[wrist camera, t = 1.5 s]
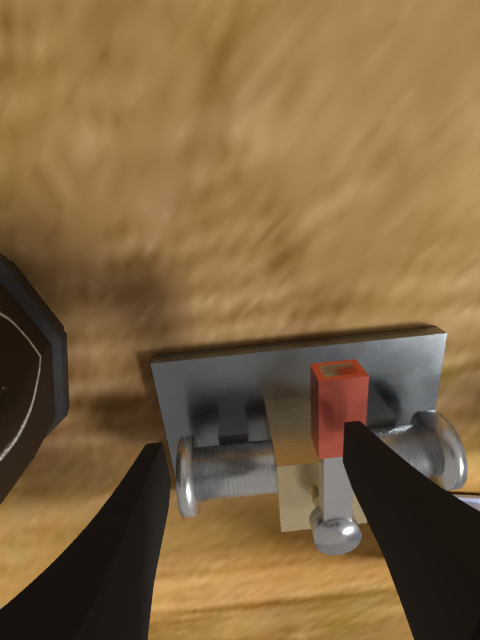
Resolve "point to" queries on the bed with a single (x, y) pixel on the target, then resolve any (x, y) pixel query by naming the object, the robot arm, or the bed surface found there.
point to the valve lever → (335, 450)
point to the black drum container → (27, 373)
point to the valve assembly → (297, 417)
